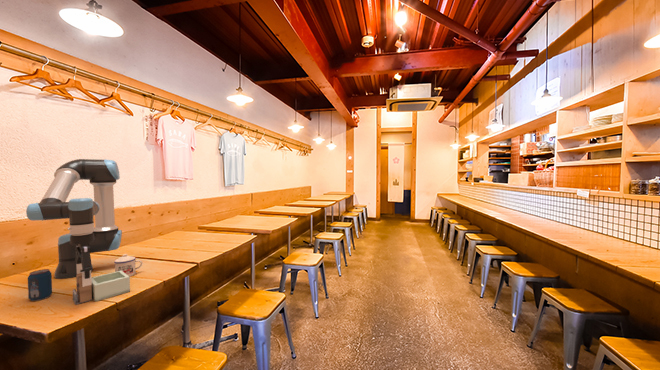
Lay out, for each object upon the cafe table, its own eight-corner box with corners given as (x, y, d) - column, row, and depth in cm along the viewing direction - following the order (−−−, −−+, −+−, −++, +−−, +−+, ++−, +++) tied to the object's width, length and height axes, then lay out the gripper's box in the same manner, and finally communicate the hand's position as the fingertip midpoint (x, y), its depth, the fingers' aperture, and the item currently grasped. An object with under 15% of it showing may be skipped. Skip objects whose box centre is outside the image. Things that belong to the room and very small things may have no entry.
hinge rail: (72, 299, 109) (71, 288, 109) (90, 294, 113) (89, 284, 113) (75, 305, 104) (74, 293, 104) (93, 299, 109) (93, 288, 108)
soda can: (51, 293, 116) (50, 267, 116) (52, 297, 111) (51, 270, 111) (28, 298, 110) (27, 271, 110) (28, 303, 106) (27, 275, 106)
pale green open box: (88, 293, 115) (88, 278, 115) (121, 284, 125) (121, 270, 125) (95, 301, 107) (94, 285, 107) (130, 291, 116) (129, 276, 116)
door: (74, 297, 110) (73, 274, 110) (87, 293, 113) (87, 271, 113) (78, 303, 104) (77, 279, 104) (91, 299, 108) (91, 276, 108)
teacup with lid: (114, 280, 130) (113, 258, 130) (114, 275, 137) (114, 254, 137) (143, 274, 138) (142, 253, 138) (142, 269, 145) (141, 250, 145)
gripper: (65, 231, 113) (67, 277, 114) (74, 239, 98) (76, 292, 99) (88, 228, 119) (90, 272, 120) (100, 236, 104) (102, 286, 105)
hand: (84, 281), depth 109 cm, fingers open, 13 cm apart
